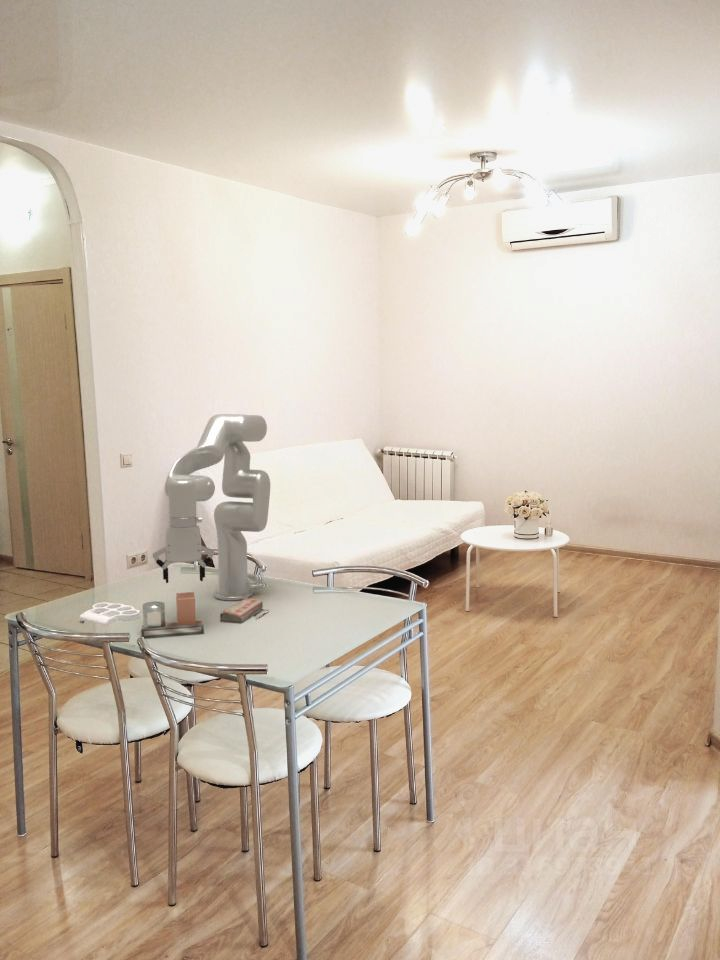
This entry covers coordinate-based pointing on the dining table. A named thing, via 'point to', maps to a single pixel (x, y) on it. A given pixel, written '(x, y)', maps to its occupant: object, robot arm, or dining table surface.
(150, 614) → the tin
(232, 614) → the packaged product
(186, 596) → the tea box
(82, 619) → the knuckle duster
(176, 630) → the shelf board
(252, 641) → the dining table surface
